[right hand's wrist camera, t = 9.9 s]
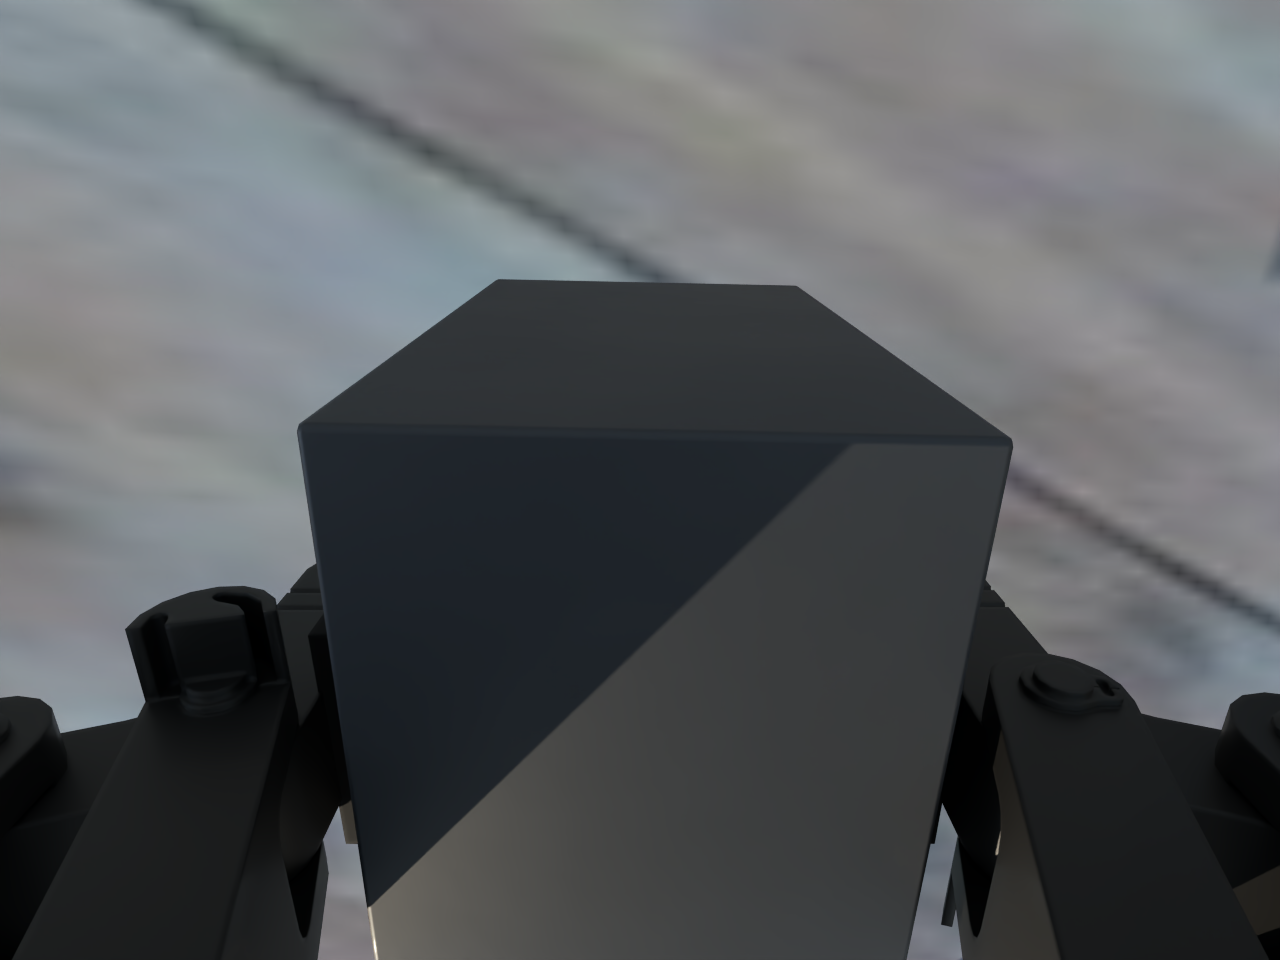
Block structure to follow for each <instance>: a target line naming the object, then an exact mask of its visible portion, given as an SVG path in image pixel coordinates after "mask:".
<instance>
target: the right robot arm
mask: <svg viewBox="0 0 1280 960" xmlns="http://www.w3.org/2000/svg"><path fill="white" fill-rule="evenodd" d="M290 590H291V591H290V593H287V594H286V595H285V596H284V597H283V599H282V600H281V601H280V602H279V603H278V604H277V605H276V600H275V598H274V597H273V596H271V595H270V594H268V593H267V592H266V591H264V590H261V589H256V588H251V587H246V586H229V587H215V588H210V589H205V590H199V591H194V592H190V593H187V594H184V595H181V596H178V597H176V598H173V599H170V600H167V601H164V602H162V603H160V604H158V605H157V606H155V607H153V608H151V609H149V610H148V611H146V612H144V613H142V614H140V615H139V616H138V617H137V618H136V619H135V620H134V621H133V622H132V623H131V624H130V625H129V626H128V627H127V628H126V629H125V631H126V634H127V638H128V641H129V645H130V648H131V652H132V655H133V659H134V662H135V666H136V669H137V673H138V676H139V680H140V683H141V687H142V691H143V694H144V698H145V701H146V702H145V704H144V706H143V708H142V710H141V712H140V714H139V716H138V718H134V719H130V720H126V721H121V722H116V723H111V724H106V725H101V726H96V727H91V728H86V729H80V730H75V731H70V732H65V733H60V731H59V728H58V725H57V722H56V719H55V716H54V713H53V710H52V708H51V707H50V706H49V705H47V704H46V703H45V702H43V701H42V700H41V699H37V698H29V697H21V696H13V697H5V698H0V960H317V959H318V951H319V944H320V936H321V928H322V921H323V913H324V905H325V898H326V890H327V882H328V875H329V872H328V865H327V858H326V852H325V847H324V842H323V838H324V836H325V834H326V832H327V830H328V828H329V825H330V823H331V821H332V819H333V817H334V815H335V813H336V811H337V809H338V807H339V808H340V814H341V819H342V825H343V830H344V836H345V841H346V844H358V842H357V835H356V828H355V821H354V815H353V808H352V801H351V794H350V788H349V781H348V774H347V767H346V760H345V754H344V747H343V740H342V733H341V726H340V720H339V713H338V706H337V699H336V693H335V686H334V679H333V672H332V665H331V659H330V652H329V645H328V638H327V632H326V625H325V618H324V611H323V604H322V598H321V591H320V584H319V577H318V570H317V564H315V565H313V566H312V567H310V568H308V569H307V570H306V571H305V572H304V574H303V575H302V576H301V577H300V578H299V579H298V581H297V582H296V583H295V584H294V585H293V587H292V588H291V589H290ZM942 803H943V805H944V808H945V810H946V812H947V814H948V816H949V818H950V820H951V822H952V824H953V826H954V828H955V830H956V833H957V835H958V837H957V842H956V847H955V852H954V857H953V863H952V868H951V873H950V878H949V883H948V888H947V893H946V898H945V903H944V908H943V915H942V923H941V925H945V926H950V927H952V925H953V920H954V915H955V910H956V911H957V919H958V926H959V934H960V942H961V949H962V957H963V960H1280V694H1274V693H1265V692H1264V693H1256V694H1249V695H1242V696H1241V697H1239V698H1238V699H1237V700H1235V701H1234V702H1233V703H1231V704H1230V707H1229V710H1228V713H1227V715H1226V718H1225V721H1224V724H1223V727H1222V730H1219V729H1214V728H1208V727H1203V726H1198V725H1193V724H1188V723H1183V722H1178V721H1172V720H1167V719H1162V718H1157V717H1153V716H1149V715H1145V714H1141V712H1140V710H1139V708H1138V706H1137V705H1136V703H1135V701H1134V700H1133V698H1132V697H1131V696H1130V695H1129V694H1128V692H1127V691H1126V690H1125V689H1124V688H1123V686H1122V685H1121V684H1119V683H1118V682H1116V681H1115V680H1113V679H1112V678H1110V677H1109V676H1107V675H1106V674H1104V673H1103V672H1101V671H1100V670H1097V669H1095V668H1093V667H1090V666H1088V665H1085V664H1083V663H1081V662H1078V661H1076V660H1073V659H1069V658H1065V657H1060V656H1056V655H1051V654H1048V653H1047V652H1046V651H1045V650H1044V649H1043V647H1042V646H1041V645H1040V644H1039V643H1038V641H1037V640H1036V639H1035V638H1034V637H1033V636H1032V634H1031V633H1030V632H1029V631H1028V630H1027V628H1026V627H1025V626H1024V625H1023V624H1022V623H1021V621H1020V620H1019V619H1018V618H1017V617H1016V615H1015V614H1014V613H1013V612H1012V611H1011V610H1010V608H1009V607H1005V603H1004V601H1003V600H1002V599H1001V598H1000V597H999V595H998V594H997V593H996V592H995V591H994V590H991V586H990V585H989V584H988V582H987V581H986V580H985V585H984V589H983V594H982V599H981V604H980V609H979V613H978V618H977V623H976V628H975V633H974V637H973V642H972V647H971V652H970V657H969V661H968V666H967V671H966V676H965V681H964V685H963V690H962V695H961V700H960V705H959V709H958V714H957V719H956V724H955V729H954V733H953V738H952V743H951V748H950V753H949V757H948V762H947V767H946V772H945V777H944V781H943V786H942V791H941V796H940V801H939V805H938V810H937V815H936V820H935V825H934V829H933V834H932V839H931V844H935V839H936V833H937V828H938V823H939V817H940V812H941V806H942Z"/></svg>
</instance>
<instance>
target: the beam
mask: <svg viewBox="0 0 1280 960" xmlns="http://www.w3.org/2000/svg"><path fill="white" fill-rule="evenodd" d="M297 435H298V442H299V448H300V455H301V462H302V469H303V476H304V482H305V489H306V496H307V503H308V509H309V516H310V523H311V530H312V537H313V543H314V550H315V557H316V564H317V570H318V577H319V584H320V591H321V598H322V604H323V611H324V618H325V625H326V632H327V638H328V645H329V652H330V659H331V665H332V672H333V679H334V686H335V693H336V699H337V706H338V713H339V720H340V726H341V733H342V740H343V747H344V754H345V760H346V767H347V774H348V781H349V788H350V794H351V801H352V808H353V815H354V821H355V828H356V835H357V842H358V849H359V855H360V862H361V869H362V876H363V882H364V889H365V896H366V903H367V910H368V916H369V923H370V930H371V937H372V944H373V950H374V957H375V960H906V959H907V954H908V949H909V945H910V940H911V935H912V930H913V925H914V921H915V916H916V911H917V906H918V901H919V897H920V892H921V887H922V882H923V877H924V873H925V868H926V863H927V858H928V853H929V849H930V844H931V839H932V834H933V829H934V825H935V820H936V815H937V810H938V805H939V801H940V796H941V791H942V786H943V781H944V777H945V772H946V767H947V762H948V757H949V753H950V748H951V743H952V738H953V733H954V729H955V724H956V719H957V714H958V709H959V705H960V700H961V695H962V690H963V685H964V681H965V676H966V671H967V666H968V661H969V657H970V652H971V647H972V642H973V637H974V633H975V628H976V623H977V618H978V613H979V609H980V604H981V599H982V594H983V589H984V585H985V580H986V575H987V570H988V565H989V561H990V556H991V551H992V546H993V541H994V537H995V532H996V527H997V522H998V517H999V512H1000V508H1001V503H1002V498H1003V493H1004V488H1005V484H1006V479H1007V474H1008V469H1009V464H1010V460H1011V455H1012V450H1013V443H1012V439H1011V438H1010V437H1008V436H1007V435H1006V434H1004V433H1003V432H1001V431H1000V430H999V429H997V428H996V427H994V426H993V425H991V424H990V423H989V422H987V421H986V420H984V419H983V418H982V417H980V416H979V415H977V414H976V413H975V412H973V411H972V410H970V409H969V408H968V407H966V406H965V405H963V404H962V403H961V402H959V401H958V400H956V399H955V398H954V397H952V396H951V395H949V394H948V393H947V392H945V391H944V390H942V389H941V388H939V387H938V386H937V385H935V384H934V383H932V382H931V381H930V380H928V379H927V378H925V377H924V376H923V375H921V374H920V373H918V372H917V371H916V370H914V369H913V368H911V367H910V366H909V365H907V364H906V363H904V362H903V361H902V360H900V359H899V358H897V357H896V356H895V355H893V354H892V353H890V352H889V351H888V350H886V349H885V348H883V347H882V346H880V345H879V344H878V343H876V342H875V341H873V340H872V339H871V338H869V337H868V336H866V335H865V334H864V333H862V332H861V331H859V330H858V329H857V328H855V327H854V326H852V325H851V324H850V323H848V322H847V321H845V320H844V319H843V318H841V317H840V316H838V315H837V314H836V313H834V312H833V311H831V310H830V309H828V308H827V307H826V306H824V305H823V304H821V303H820V302H819V301H817V300H816V299H814V298H813V297H812V296H810V295H809V294H807V293H806V292H805V291H803V290H802V289H800V288H799V287H797V286H783V285H737V284H691V283H645V282H599V281H553V280H507V279H498V280H496V281H495V282H493V283H492V284H490V285H489V286H488V287H486V288H485V289H484V290H482V291H481V292H479V293H478V294H477V295H475V296H474V297H473V298H471V299H470V300H468V301H467V302H466V303H464V304H463V305H462V306H460V307H459V308H458V309H456V310H455V311H453V312H452V313H451V314H449V315H448V316H447V317H445V318H444V319H442V320H441V321H440V322H438V323H437V324H436V325H434V326H433V327H431V328H430V329H429V330H427V331H426V332H425V333H423V334H422V335H420V336H419V337H418V338H416V339H415V340H414V341H412V342H411V343H410V344H408V345H407V346H405V347H404V348H403V349H401V350H400V351H399V352H397V353H396V354H394V355H393V356H392V357H390V358H389V359H388V360H386V361H385V362H383V363H382V364H381V365H379V366H378V367H377V368H375V369H374V370H373V371H371V372H370V373H368V374H367V375H366V376H364V377H363V378H362V379H360V380H359V381H357V382H356V383H355V384H353V385H352V386H351V387H349V388H348V389H346V390H345V391H344V392H342V393H341V394H340V395H338V396H337V397H336V398H334V399H333V400H331V401H330V402H329V403H327V404H326V405H325V406H323V407H322V408H320V409H319V410H318V411H316V412H315V413H314V414H312V415H311V416H309V417H308V418H307V419H305V420H304V421H303V422H301V423H300V424H299V426H298V430H297Z"/></svg>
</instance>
